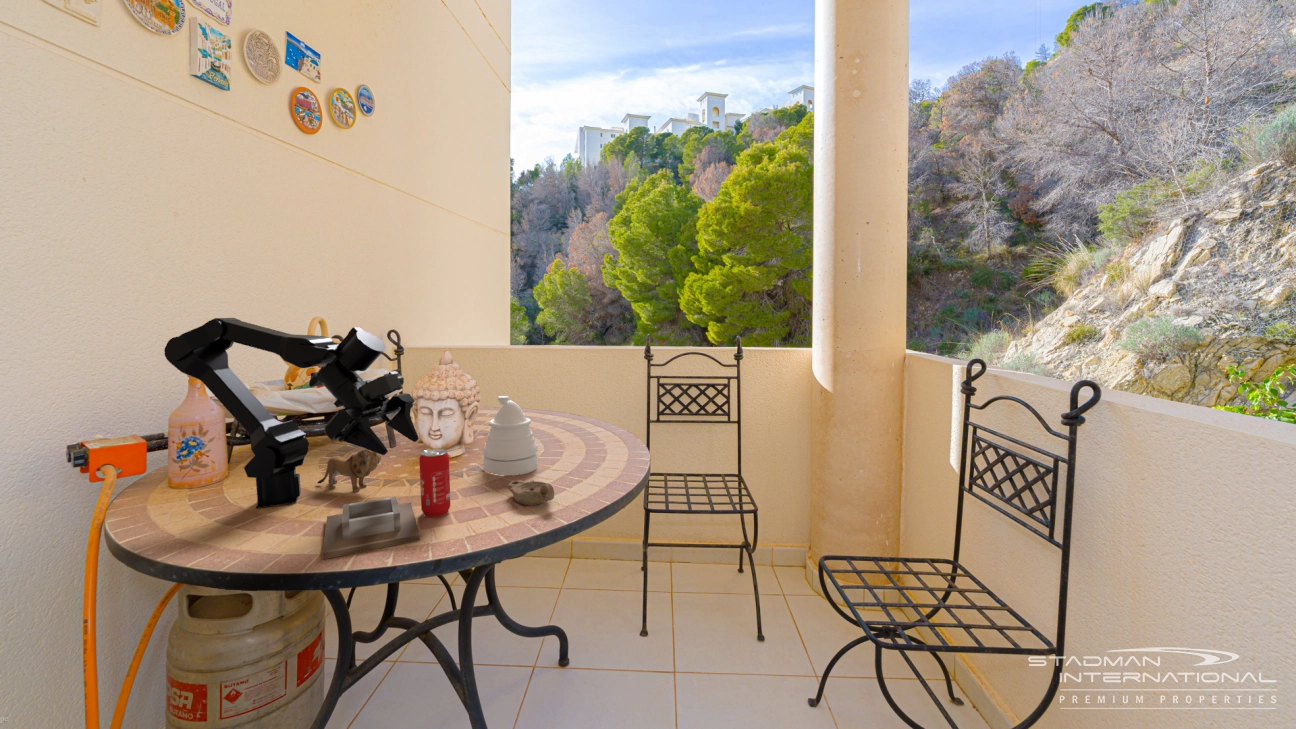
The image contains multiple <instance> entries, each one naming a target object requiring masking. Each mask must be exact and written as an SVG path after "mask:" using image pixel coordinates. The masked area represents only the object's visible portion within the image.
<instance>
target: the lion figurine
mask: <svg viewBox="0 0 1296 729" xmlns="http://www.w3.org/2000/svg"><path fill="white" fill-rule="evenodd" d="M381 460H382V455H381V454H379V453H376V452H373V451H371V450H368V449H365V448H364V449H362V450H360V451H359V452H357V453H355V454H353V455H351V456H350V457H349V458H344V457H342V456H340V455H334V456H331V457H330V458H329V460H328V461H327V466H326V470H325V475H324V477H323V478H321V479H319V481H317V484H321V483H324V482H325V480H326V479H327V477H328V489H329V490H335V489H336V485H334V484H337V483H338V480H337V479H335V478H336V477H337V476H338V475H339V474H340V475H341V476H343V477H348V478H350V481H351V488H352V489H351V490H352V493H358V492H360V488H361V489H365V488H366V487H367V484H365V483H364V479H365V478H366V477H368V476H369V475H370V474H371V472H373V471H375V470H376V469H377V467H378V466H379V464H380V461H381Z"/></svg>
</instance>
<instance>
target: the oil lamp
mask: <svg viewBox="0 0 1296 729" xmlns="http://www.w3.org/2000/svg"><path fill="white" fill-rule="evenodd" d="M506 487H507V489H508V490H509V492H510V493H511V494H512V496H513V497H514V499H515V500H516V501H517V503H519V504H520V505H525V506H537V505H539V504H541V503H544V502H550V501H551V500H553V499H554V498H555V490H554V487H553V485H552V484H551V483H549V482H547V483H546V482H544V481H534V480H530V481H523V480H522V479H520V480H514V481H511V482H509V483H508V484H507V486H506Z"/></svg>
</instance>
